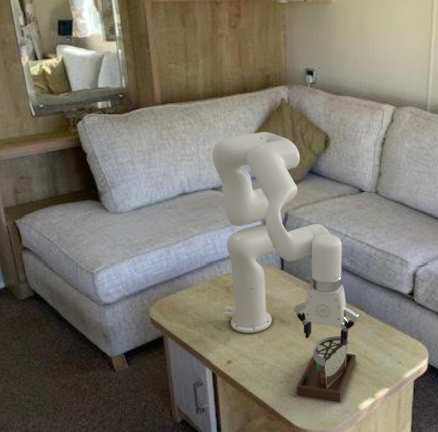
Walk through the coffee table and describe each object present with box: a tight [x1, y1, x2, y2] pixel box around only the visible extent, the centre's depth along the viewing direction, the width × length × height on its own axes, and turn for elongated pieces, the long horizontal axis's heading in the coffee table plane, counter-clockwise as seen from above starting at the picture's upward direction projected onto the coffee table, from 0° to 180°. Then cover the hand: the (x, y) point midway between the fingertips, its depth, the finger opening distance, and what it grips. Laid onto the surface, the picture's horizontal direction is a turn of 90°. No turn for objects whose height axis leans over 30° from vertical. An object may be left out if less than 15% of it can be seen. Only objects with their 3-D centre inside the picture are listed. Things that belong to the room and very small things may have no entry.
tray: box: [296, 353, 357, 403], centre depth 170 cm, size 12×18×3 cm, turn 168°
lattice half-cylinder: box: [312, 335, 349, 388], centre depth 168 cm, size 12×6×10 cm, turn 150°
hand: (325, 338), depth 166 cm, fingers open, 9 cm apart
